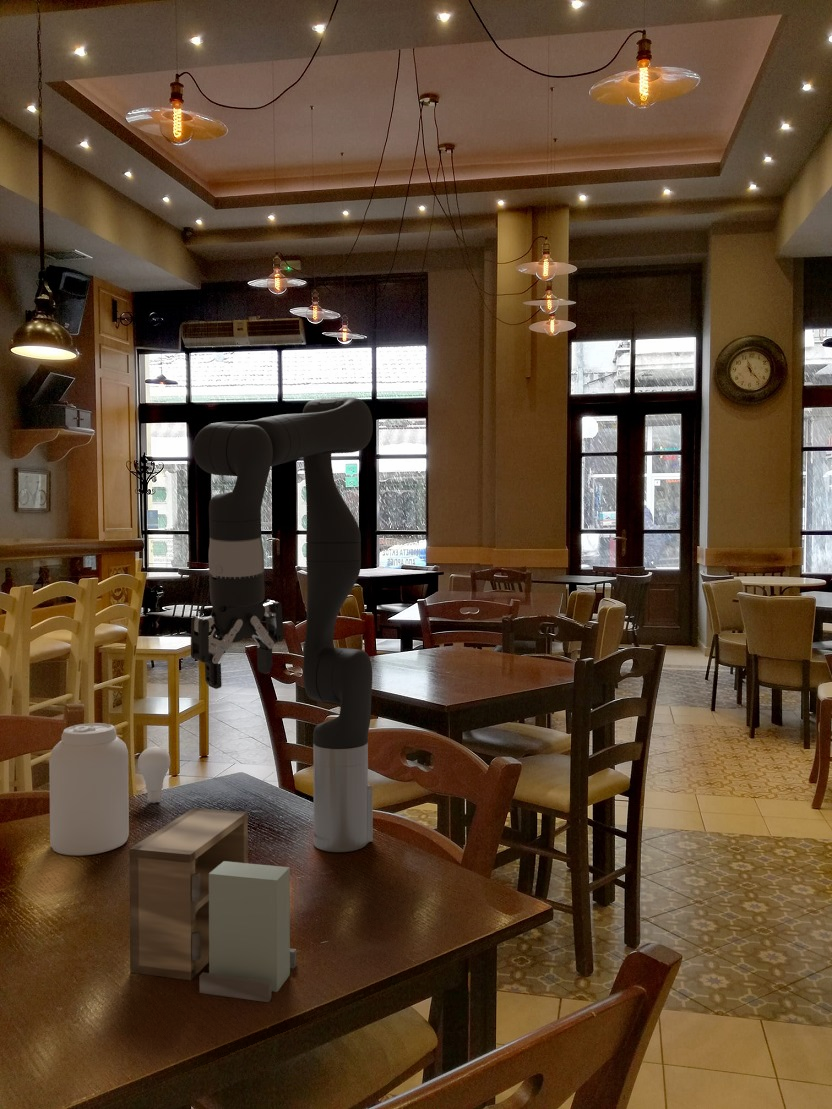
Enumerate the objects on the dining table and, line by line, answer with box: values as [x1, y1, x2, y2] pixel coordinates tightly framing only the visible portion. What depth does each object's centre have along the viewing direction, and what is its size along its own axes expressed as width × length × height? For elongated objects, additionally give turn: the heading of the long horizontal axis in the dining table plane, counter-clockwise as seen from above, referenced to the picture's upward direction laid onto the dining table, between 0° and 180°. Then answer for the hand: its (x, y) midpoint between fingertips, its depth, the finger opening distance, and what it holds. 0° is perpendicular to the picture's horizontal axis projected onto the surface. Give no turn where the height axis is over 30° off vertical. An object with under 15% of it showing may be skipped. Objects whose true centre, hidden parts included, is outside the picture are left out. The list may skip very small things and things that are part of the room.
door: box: [208, 861, 291, 993], centre depth 104 cm, size 5×8×13 cm, turn 77°
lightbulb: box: [137, 746, 171, 804], centre depth 170 cm, size 6×6×11 cm
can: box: [48, 722, 130, 856], centre depth 148 cm, size 12×12×20 cm
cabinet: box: [128, 807, 297, 1003], centre depth 109 cm, size 18×19×15 cm
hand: (239, 679), depth 124 cm, fingers open, 8 cm apart
